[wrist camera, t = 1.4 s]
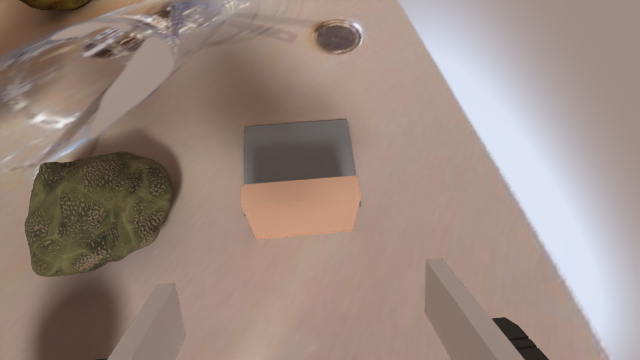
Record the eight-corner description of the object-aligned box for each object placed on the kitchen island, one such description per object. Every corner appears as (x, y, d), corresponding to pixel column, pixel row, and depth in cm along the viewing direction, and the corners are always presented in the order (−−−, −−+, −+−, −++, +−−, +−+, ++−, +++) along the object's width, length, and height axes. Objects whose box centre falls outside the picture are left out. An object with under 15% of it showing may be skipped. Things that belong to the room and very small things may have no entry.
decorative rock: (170, 281, 41) (129, 256, 32) (33, 284, 41) (-44, 260, 32) (189, 171, 48) (161, 126, 39) (73, 173, 48) (19, 128, 39)
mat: (360, 206, 46) (361, 205, 45) (244, 216, 45) (244, 215, 45) (346, 120, 52) (346, 119, 52) (245, 128, 52) (244, 126, 51)
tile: (352, 230, 44) (361, 195, 35) (256, 239, 44) (241, 206, 35) (350, 212, 45) (357, 174, 37) (256, 220, 45) (241, 184, 36)
